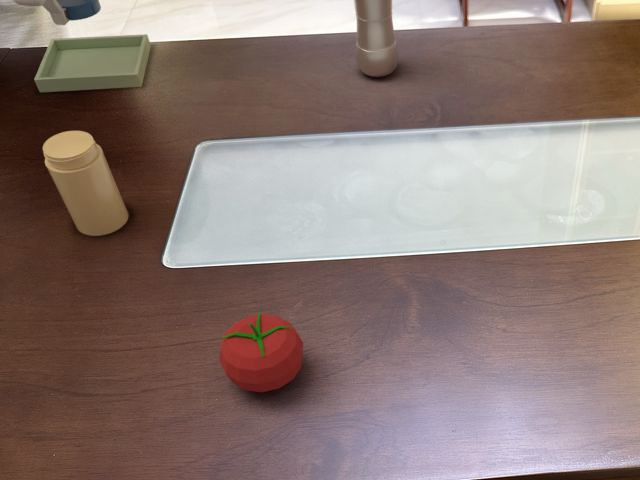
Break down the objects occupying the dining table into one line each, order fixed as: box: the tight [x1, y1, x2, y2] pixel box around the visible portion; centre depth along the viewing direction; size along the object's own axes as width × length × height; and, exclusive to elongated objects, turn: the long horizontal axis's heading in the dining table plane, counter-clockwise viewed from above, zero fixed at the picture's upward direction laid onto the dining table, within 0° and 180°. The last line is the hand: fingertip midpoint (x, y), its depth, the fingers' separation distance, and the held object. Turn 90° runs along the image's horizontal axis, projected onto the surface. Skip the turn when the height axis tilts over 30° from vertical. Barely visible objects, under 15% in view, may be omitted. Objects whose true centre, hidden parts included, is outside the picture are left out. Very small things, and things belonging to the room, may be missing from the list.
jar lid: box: [57, 0, 102, 21], centre depth 102 cm, size 7×6×2 cm
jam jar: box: [42, 130, 130, 237], centre depth 83 cm, size 6×6×11 cm
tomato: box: [219, 310, 304, 393], centre depth 70 cm, size 8×8×8 cm
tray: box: [33, 34, 152, 93], centre depth 109 cm, size 14×12×2 cm
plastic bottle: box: [353, 0, 399, 78], centre depth 104 cm, size 6×7×20 cm
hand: (76, 9), depth 102 cm, fingers closed on jar lid, 6 cm apart
